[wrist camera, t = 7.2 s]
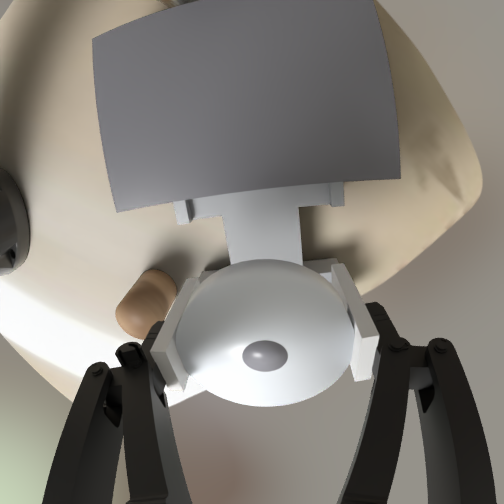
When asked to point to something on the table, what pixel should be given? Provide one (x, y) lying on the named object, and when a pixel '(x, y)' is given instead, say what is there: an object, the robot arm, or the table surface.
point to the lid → (265, 333)
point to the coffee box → (176, 2)
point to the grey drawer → (264, 222)
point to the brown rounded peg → (146, 303)
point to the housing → (244, 99)
